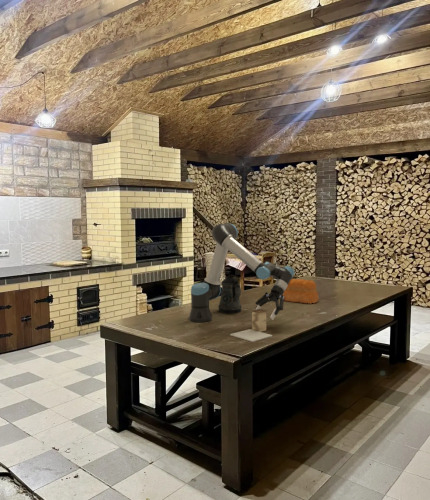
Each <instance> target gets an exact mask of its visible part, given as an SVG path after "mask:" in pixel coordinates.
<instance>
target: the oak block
mask: <svg viewBox="0 0 430 500" xmlns="http://www.w3.org/2000/svg"><path fill="white" fill-rule="evenodd" d="M251 330H255V331H259V332H262V333H263V332H265V331H267V310H266V309H262V308H260V309H256V310H255V309H251Z"/></svg>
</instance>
